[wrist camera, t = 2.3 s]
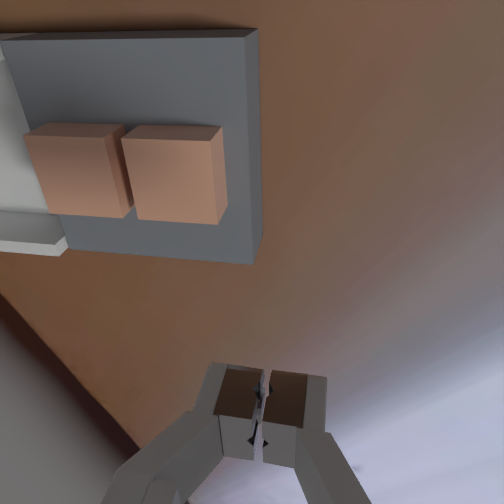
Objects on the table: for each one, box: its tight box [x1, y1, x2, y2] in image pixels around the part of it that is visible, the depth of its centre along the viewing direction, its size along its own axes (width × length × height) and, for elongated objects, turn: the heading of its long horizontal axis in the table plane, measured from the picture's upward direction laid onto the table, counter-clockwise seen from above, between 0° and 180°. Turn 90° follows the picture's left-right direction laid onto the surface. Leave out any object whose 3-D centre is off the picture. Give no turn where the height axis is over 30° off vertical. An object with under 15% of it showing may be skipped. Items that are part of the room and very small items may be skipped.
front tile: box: [121, 125, 228, 225], centre depth 24 cm, size 5×5×2 cm
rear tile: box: [23, 122, 135, 218], centre depth 25 cm, size 5×5×2 cm
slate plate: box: [0, 29, 263, 265], centre depth 27 cm, size 14×14×4 cm
